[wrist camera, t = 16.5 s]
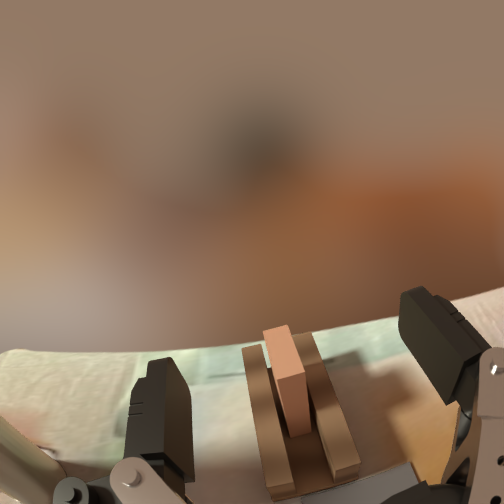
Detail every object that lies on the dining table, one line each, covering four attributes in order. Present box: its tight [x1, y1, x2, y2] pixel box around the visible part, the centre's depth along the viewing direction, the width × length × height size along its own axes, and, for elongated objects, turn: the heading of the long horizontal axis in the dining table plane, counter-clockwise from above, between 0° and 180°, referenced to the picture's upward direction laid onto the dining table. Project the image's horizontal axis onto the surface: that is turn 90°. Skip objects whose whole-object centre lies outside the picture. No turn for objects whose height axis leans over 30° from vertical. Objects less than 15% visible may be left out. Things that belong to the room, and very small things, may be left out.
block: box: [263, 325, 311, 438], centre depth 31 cm, size 6×2×12 cm, turn 10°
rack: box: [242, 331, 361, 502], centre depth 32 cm, size 18×9×6 cm, turn 8°
